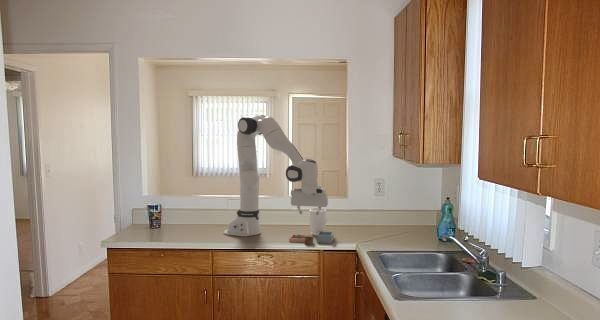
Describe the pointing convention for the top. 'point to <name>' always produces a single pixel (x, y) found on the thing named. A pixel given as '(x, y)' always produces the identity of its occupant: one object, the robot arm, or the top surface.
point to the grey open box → (325, 237)
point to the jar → (317, 220)
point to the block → (309, 239)
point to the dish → (294, 239)
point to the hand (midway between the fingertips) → (309, 214)
